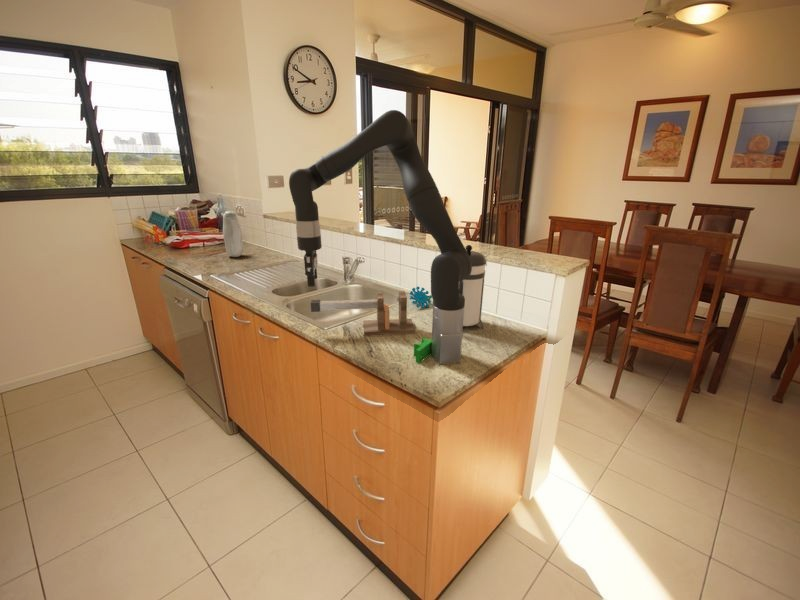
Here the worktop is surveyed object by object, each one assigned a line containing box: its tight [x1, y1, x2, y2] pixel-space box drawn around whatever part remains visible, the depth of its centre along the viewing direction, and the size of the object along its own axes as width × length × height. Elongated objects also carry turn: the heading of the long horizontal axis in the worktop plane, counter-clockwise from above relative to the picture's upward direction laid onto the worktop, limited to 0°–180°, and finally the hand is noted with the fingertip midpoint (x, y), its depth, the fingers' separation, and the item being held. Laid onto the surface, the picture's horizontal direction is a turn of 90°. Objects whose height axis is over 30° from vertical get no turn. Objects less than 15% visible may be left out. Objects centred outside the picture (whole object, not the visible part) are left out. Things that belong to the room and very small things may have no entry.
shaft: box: [310, 298, 378, 313], centre depth 130 cm, size 3×23×3 cm, turn 96°
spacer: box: [384, 303, 390, 330], centre depth 134 cm, size 7×2×7 cm, turn 7°
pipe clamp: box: [413, 337, 432, 364], centre depth 117 cm, size 11×4×5 cm, turn 145°
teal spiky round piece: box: [409, 286, 433, 309], centre depth 158 cm, size 11×6×10 cm
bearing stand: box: [362, 290, 416, 337], centre depth 133 cm, size 10×18×13 cm, turn 97°
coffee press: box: [459, 244, 488, 329], centre depth 134 cm, size 17×16×30 cm
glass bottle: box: [222, 210, 244, 258], centre depth 229 cm, size 10×10×28 cm
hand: (312, 282), depth 126 cm, fingers open, 8 cm apart
